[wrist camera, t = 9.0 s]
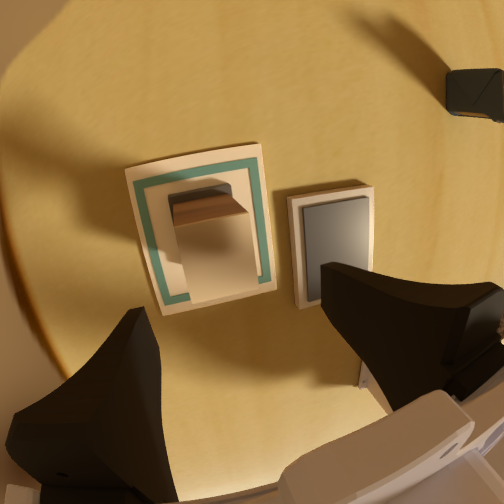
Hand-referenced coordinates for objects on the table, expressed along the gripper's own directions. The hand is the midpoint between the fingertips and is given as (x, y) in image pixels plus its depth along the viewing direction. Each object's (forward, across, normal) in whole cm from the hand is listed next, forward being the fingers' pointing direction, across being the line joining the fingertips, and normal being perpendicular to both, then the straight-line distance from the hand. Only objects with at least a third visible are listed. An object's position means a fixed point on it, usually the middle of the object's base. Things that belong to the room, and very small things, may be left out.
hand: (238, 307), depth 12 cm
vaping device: (+10, -25, -10) cm, 29 cm away
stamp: (+10, 0, -1) cm, 10 cm away
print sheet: (+10, 0, 0) cm, 10 cm away
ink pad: (+10, -9, +3) cm, 14 cm away
